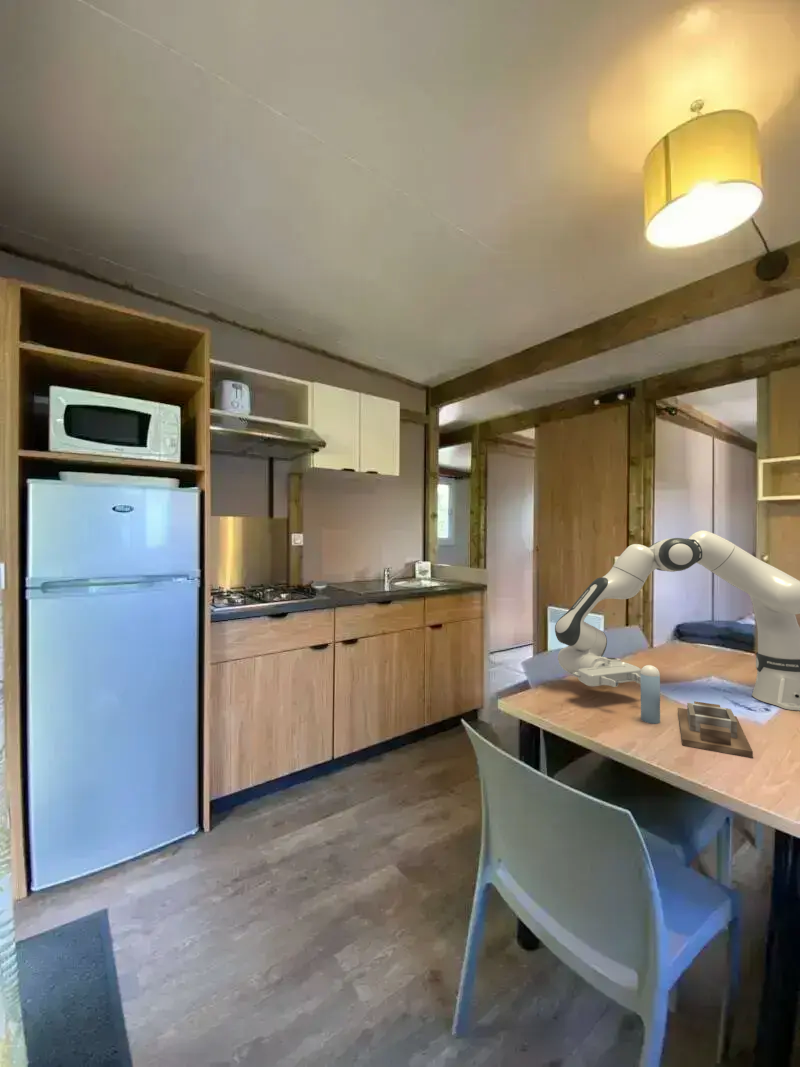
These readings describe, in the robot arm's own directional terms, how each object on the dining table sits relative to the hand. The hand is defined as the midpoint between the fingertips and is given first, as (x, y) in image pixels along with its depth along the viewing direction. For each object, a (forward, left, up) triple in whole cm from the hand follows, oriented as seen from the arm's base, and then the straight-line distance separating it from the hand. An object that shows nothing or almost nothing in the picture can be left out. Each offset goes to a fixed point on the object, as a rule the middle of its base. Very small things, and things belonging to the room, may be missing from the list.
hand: (629, 682), depth 137 cm
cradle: (-19, +7, -8) cm, 22 cm away
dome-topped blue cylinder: (-5, +5, -8) cm, 11 cm away
